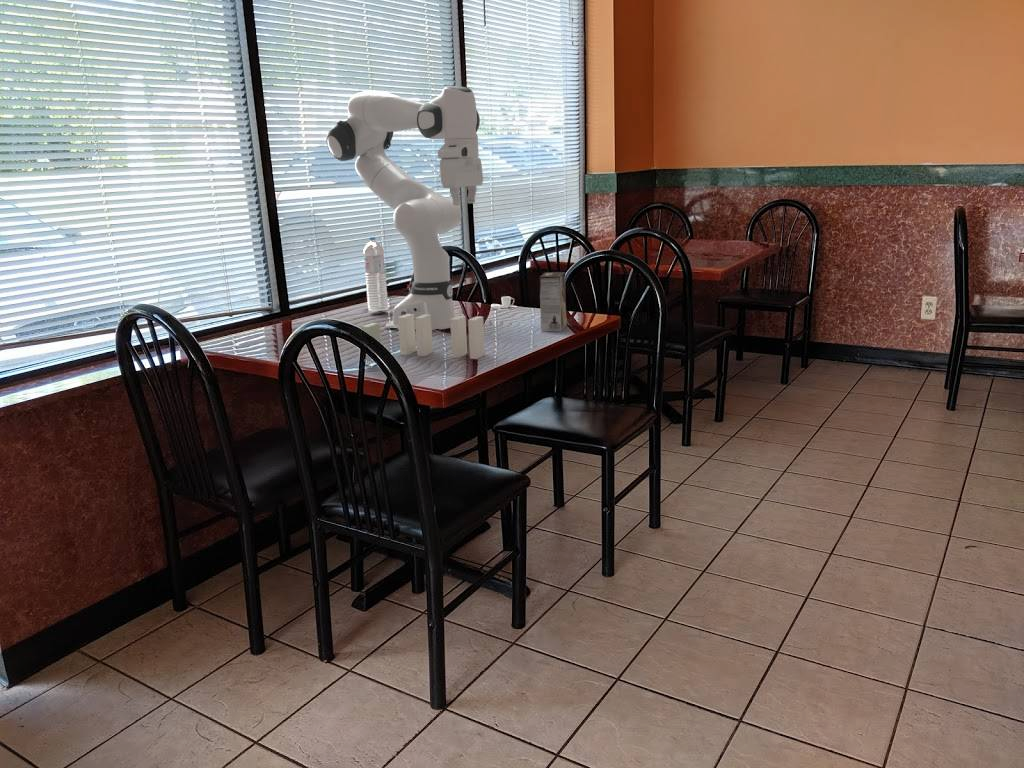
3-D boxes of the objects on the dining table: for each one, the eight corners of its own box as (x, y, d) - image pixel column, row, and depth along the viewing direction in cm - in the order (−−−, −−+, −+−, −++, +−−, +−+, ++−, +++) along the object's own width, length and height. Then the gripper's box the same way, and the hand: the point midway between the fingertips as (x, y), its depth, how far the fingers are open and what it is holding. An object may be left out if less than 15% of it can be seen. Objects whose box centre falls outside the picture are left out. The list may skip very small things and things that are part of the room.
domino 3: (417, 355, 216) (415, 317, 214) (426, 351, 221) (423, 314, 218) (424, 356, 216) (421, 318, 213) (432, 351, 220) (430, 314, 217)
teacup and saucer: (488, 310, 278) (488, 298, 276) (497, 306, 285) (496, 294, 284) (513, 311, 275) (512, 299, 274) (521, 307, 282) (520, 295, 281)
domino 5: (470, 358, 211) (468, 320, 208) (477, 354, 215) (476, 316, 213) (477, 359, 210) (475, 320, 208) (484, 354, 215) (483, 316, 212)
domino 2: (400, 354, 218) (397, 317, 215) (409, 350, 223) (407, 313, 220) (407, 355, 217) (404, 317, 215) (416, 350, 222) (413, 314, 219)
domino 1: (365, 365, 207) (361, 326, 205) (375, 361, 212) (372, 322, 209) (372, 366, 207) (368, 326, 204) (382, 361, 211) (379, 323, 209)
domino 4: (452, 357, 213) (450, 319, 210) (460, 353, 217) (458, 315, 215) (459, 358, 212) (457, 319, 209) (467, 353, 216) (465, 315, 214)
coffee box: (545, 325, 249) (544, 271, 245) (566, 325, 248) (565, 271, 243) (540, 331, 240) (539, 276, 236) (562, 331, 239) (561, 276, 235)
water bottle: (386, 312, 280) (380, 237, 274) (366, 312, 281) (360, 238, 274) (389, 308, 287) (384, 235, 280) (370, 309, 287) (364, 236, 281)
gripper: (466, 151, 229) (468, 202, 232) (434, 151, 210) (437, 206, 214) (487, 150, 226) (489, 201, 230) (457, 150, 208) (460, 206, 211)
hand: (464, 204), depth 222 cm, fingers open, 8 cm apart
